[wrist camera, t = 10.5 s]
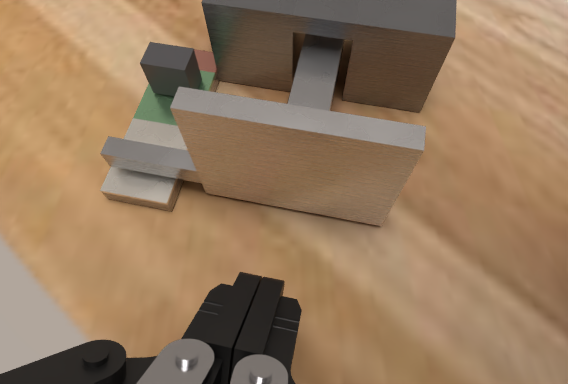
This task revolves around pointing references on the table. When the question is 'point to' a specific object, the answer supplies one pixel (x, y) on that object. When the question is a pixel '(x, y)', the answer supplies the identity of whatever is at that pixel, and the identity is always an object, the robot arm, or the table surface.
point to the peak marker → (170, 68)
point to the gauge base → (283, 63)
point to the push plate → (285, 146)
